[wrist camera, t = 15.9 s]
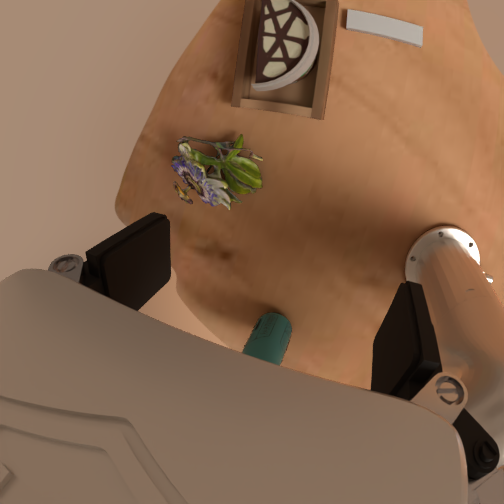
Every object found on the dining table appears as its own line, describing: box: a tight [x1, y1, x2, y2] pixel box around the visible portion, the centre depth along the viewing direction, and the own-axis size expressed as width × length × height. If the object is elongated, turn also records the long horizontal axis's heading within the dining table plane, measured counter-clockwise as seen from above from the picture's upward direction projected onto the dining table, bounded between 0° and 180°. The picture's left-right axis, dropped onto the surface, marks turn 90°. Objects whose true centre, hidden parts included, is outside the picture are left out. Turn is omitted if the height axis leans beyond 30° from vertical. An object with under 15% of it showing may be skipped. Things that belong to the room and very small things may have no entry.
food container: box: [251, 0, 319, 91], centre depth 26 cm, size 12×6×10 cm, turn 176°
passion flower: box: [172, 134, 263, 210], centre depth 39 cm, size 11×11×12 cm
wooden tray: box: [231, 0, 339, 120], centre depth 30 cm, size 11×17×4 cm, turn 173°
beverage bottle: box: [242, 313, 292, 365], centre depth 43 cm, size 6×7×20 cm
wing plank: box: [346, 9, 423, 48], centre depth 25 cm, size 10×3×2 cm, turn 84°
